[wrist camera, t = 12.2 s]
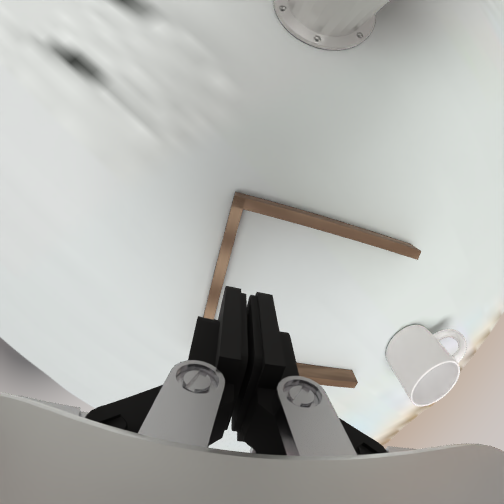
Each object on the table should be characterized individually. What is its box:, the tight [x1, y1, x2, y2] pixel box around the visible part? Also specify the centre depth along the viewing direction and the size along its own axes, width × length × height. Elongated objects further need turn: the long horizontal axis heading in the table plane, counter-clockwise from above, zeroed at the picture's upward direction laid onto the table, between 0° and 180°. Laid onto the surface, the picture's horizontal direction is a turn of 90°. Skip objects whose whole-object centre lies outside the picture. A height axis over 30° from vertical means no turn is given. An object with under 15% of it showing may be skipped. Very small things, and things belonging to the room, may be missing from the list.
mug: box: [386, 325, 467, 406], centre depth 39 cm, size 12×8×10 cm
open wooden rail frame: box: [203, 192, 421, 388], centre depth 39 cm, size 22×24×3 cm
